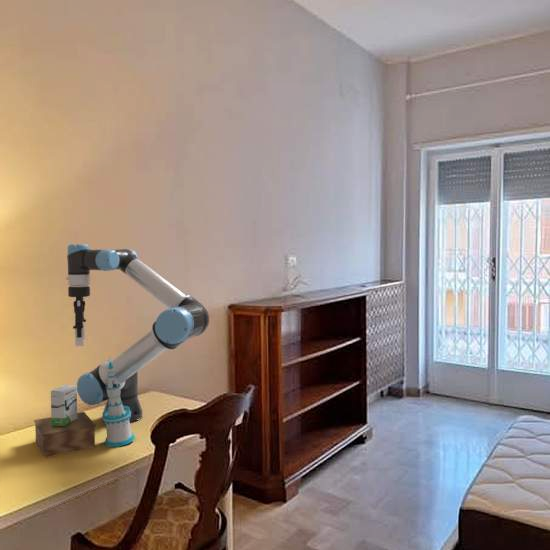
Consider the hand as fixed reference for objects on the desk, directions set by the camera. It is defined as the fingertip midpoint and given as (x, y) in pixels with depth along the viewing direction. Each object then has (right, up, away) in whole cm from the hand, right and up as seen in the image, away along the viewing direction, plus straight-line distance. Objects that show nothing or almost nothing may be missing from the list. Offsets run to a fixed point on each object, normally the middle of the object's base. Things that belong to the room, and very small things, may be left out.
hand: (80, 342), depth 192 cm
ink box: (+1, -25, -16) cm, 30 cm away
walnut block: (+1, -33, -16) cm, 37 cm away
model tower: (+19, -32, -13) cm, 39 cm away
